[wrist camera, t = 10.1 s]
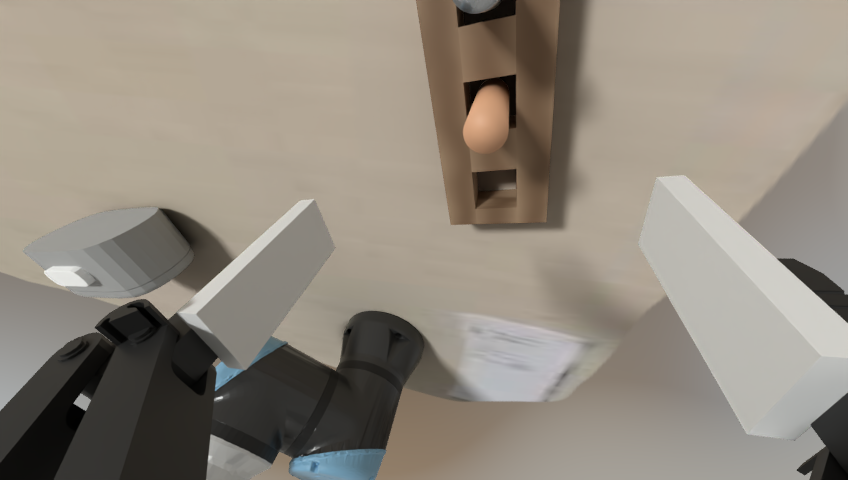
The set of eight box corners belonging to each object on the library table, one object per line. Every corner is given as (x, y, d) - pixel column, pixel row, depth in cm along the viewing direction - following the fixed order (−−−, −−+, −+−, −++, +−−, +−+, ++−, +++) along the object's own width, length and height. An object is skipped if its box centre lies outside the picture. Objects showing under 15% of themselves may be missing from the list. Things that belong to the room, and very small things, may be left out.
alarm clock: (135, 251, 60) (56, 302, 49) (96, 210, 54) (-2, 257, 44) (212, 248, 53) (140, 306, 43) (177, 202, 48) (85, 255, 38)
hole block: (455, 206, 37) (450, 224, 34) (418, -63, 23) (404, -73, 20) (543, 202, 34) (546, 222, 31) (559, -107, 20) (567, -127, 17)
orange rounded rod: (478, 114, 30) (465, 156, 21) (475, 81, 28) (460, 112, 20) (509, 109, 29) (509, 151, 21) (508, 75, 27) (507, 105, 19)
